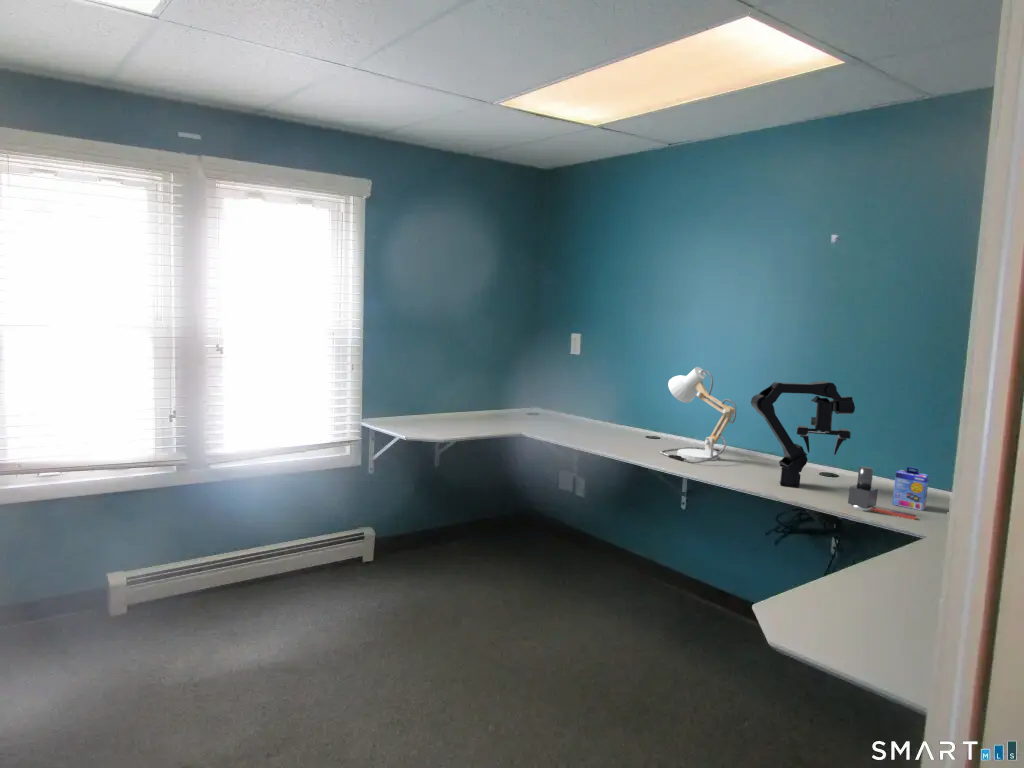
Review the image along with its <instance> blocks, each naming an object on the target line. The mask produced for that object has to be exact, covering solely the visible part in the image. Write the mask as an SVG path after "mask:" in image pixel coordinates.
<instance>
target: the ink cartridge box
mask: <svg viewBox="0 0 1024 768" xmlns="http://www.w3.org/2000/svg"><path fill="white" fill-rule="evenodd" d="M929 481H930V475H929V474H926V473H920V472H919V468H918V467H912V466H907V467H906V470H903V469H898V470H896V471H895V477H894V486H893V494H892V495H893V496H892V500H891V501H892V502H891V505H892V504H893V505H894V506H897V505H898V507H903V508H907V509H913V510H916V511H924V510H925V508H926V504H927V497H928V489H929Z"/></svg>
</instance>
